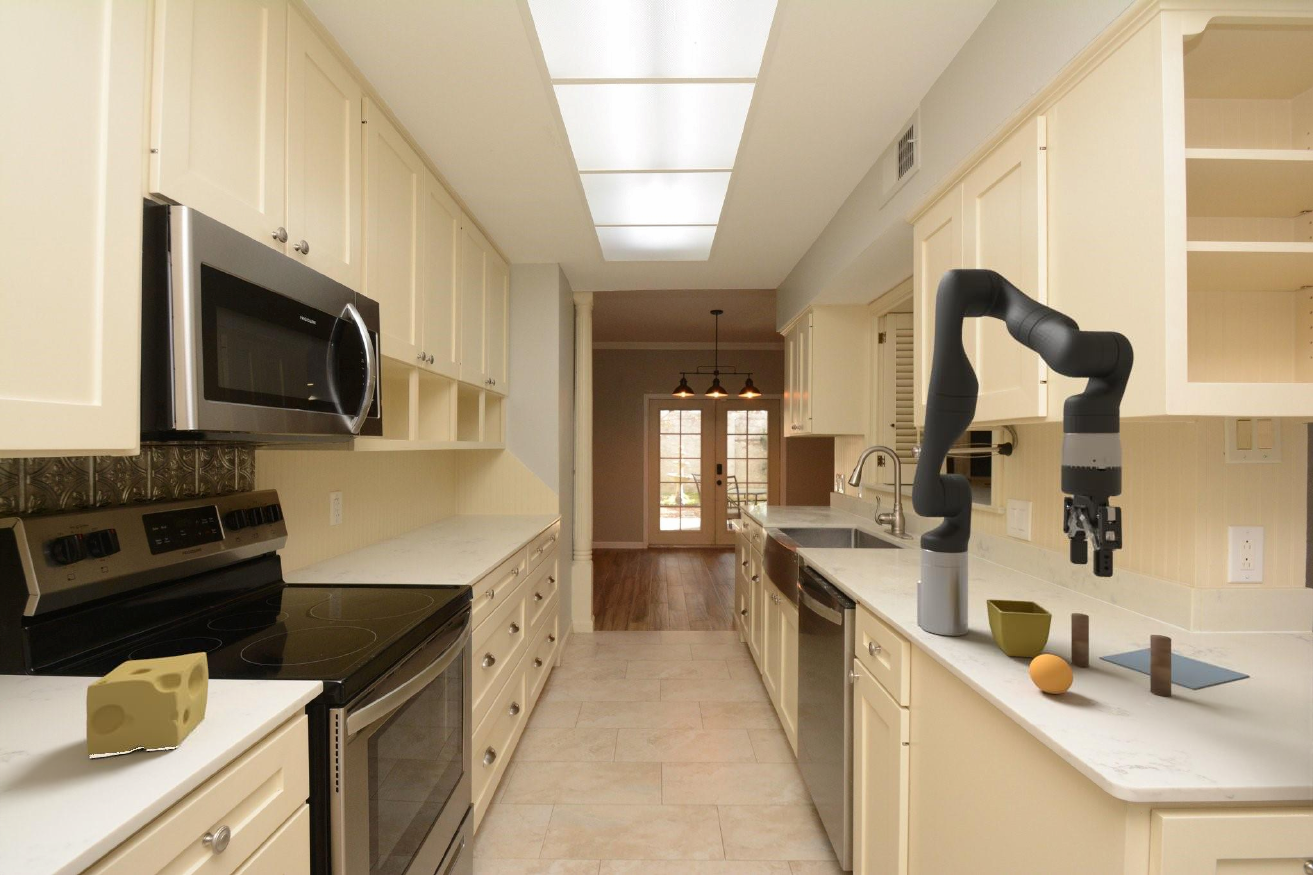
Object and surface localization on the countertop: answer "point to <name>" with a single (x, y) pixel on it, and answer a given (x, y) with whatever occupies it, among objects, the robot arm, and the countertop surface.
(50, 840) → the countertop surface
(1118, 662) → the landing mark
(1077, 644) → the inner post
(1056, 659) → the ball
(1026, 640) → the flower pot
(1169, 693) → the outer post
